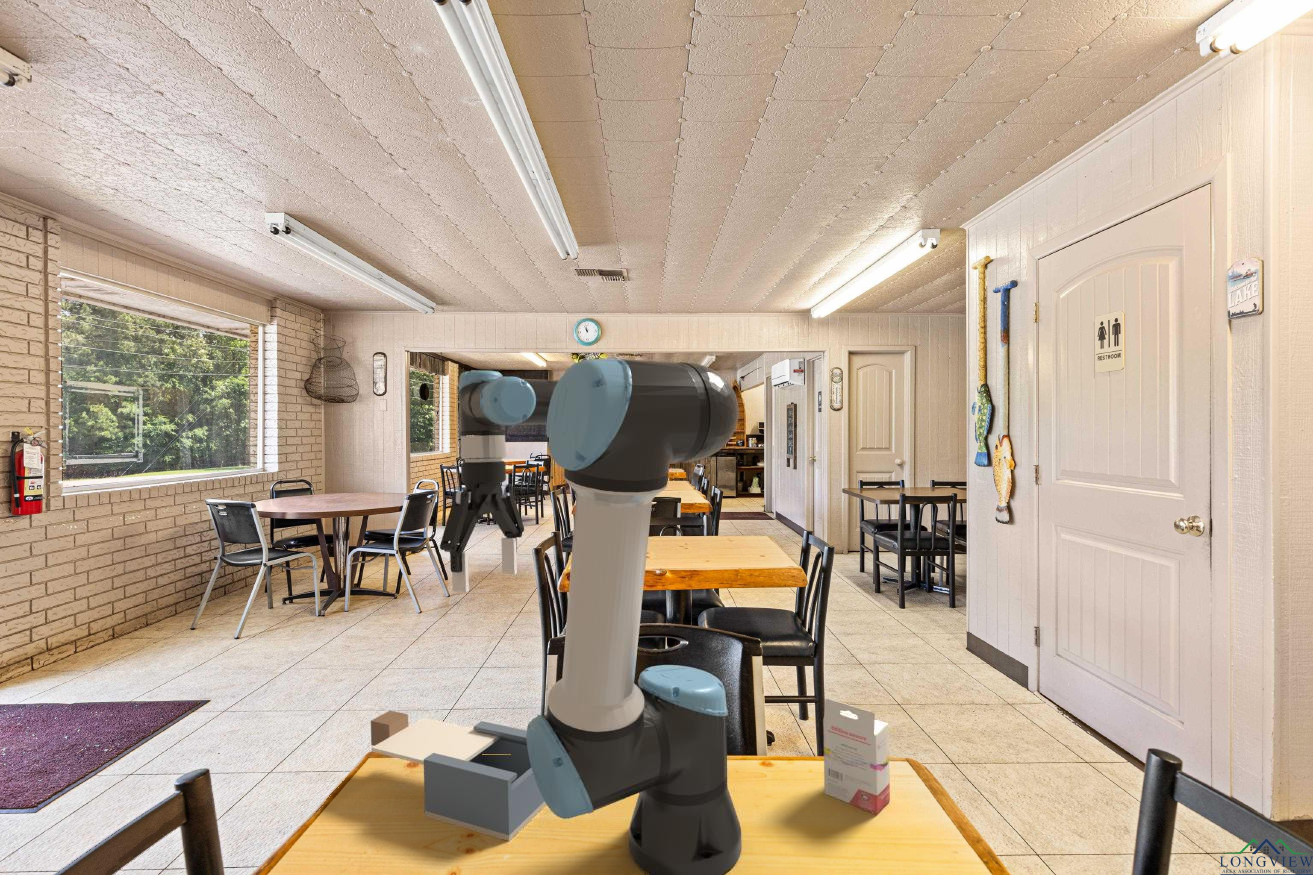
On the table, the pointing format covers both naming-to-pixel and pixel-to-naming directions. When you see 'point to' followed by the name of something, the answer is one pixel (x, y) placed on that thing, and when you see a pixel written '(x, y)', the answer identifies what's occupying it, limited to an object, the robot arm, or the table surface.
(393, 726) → the lid
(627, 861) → the table surface
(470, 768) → the grey open box
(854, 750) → the ink cartridge box
